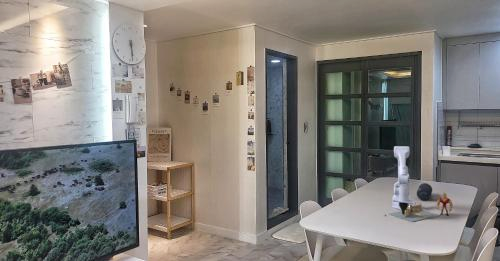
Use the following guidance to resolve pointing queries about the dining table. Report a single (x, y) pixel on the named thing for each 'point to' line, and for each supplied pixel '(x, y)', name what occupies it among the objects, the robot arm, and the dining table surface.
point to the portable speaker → (424, 191)
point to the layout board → (415, 215)
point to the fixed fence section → (416, 207)
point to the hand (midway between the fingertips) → (403, 214)
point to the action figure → (444, 203)
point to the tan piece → (407, 211)
